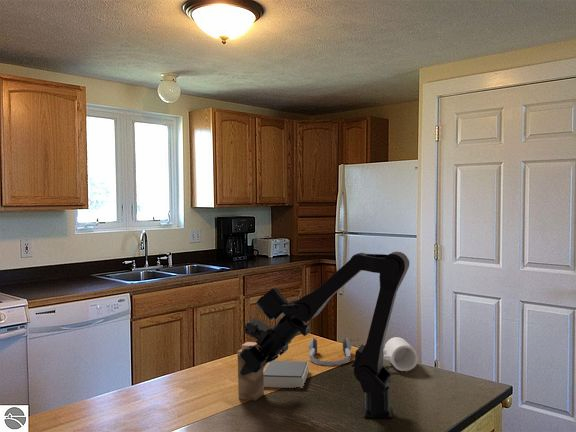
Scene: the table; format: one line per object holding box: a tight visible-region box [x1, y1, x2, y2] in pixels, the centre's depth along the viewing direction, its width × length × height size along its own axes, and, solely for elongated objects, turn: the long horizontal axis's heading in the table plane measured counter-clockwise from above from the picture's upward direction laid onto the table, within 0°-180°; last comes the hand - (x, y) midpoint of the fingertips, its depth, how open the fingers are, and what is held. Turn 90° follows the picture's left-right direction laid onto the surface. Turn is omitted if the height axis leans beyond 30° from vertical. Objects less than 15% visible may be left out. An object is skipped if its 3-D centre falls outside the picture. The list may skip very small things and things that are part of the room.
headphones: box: [308, 337, 359, 367], centre depth 168 cm, size 17×6×20 cm
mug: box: [383, 336, 419, 372], centre depth 156 cm, size 12×10×8 cm
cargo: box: [241, 341, 260, 351], centre depth 134 cm, size 3×3×2 cm
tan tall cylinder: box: [237, 348, 265, 401], centre depth 134 cm, size 5×5×12 cm
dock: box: [263, 360, 310, 389], centre depth 147 cm, size 14×12×3 cm
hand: (246, 370), depth 135 cm, fingers closed on tan tall cylinder, 5 cm apart
